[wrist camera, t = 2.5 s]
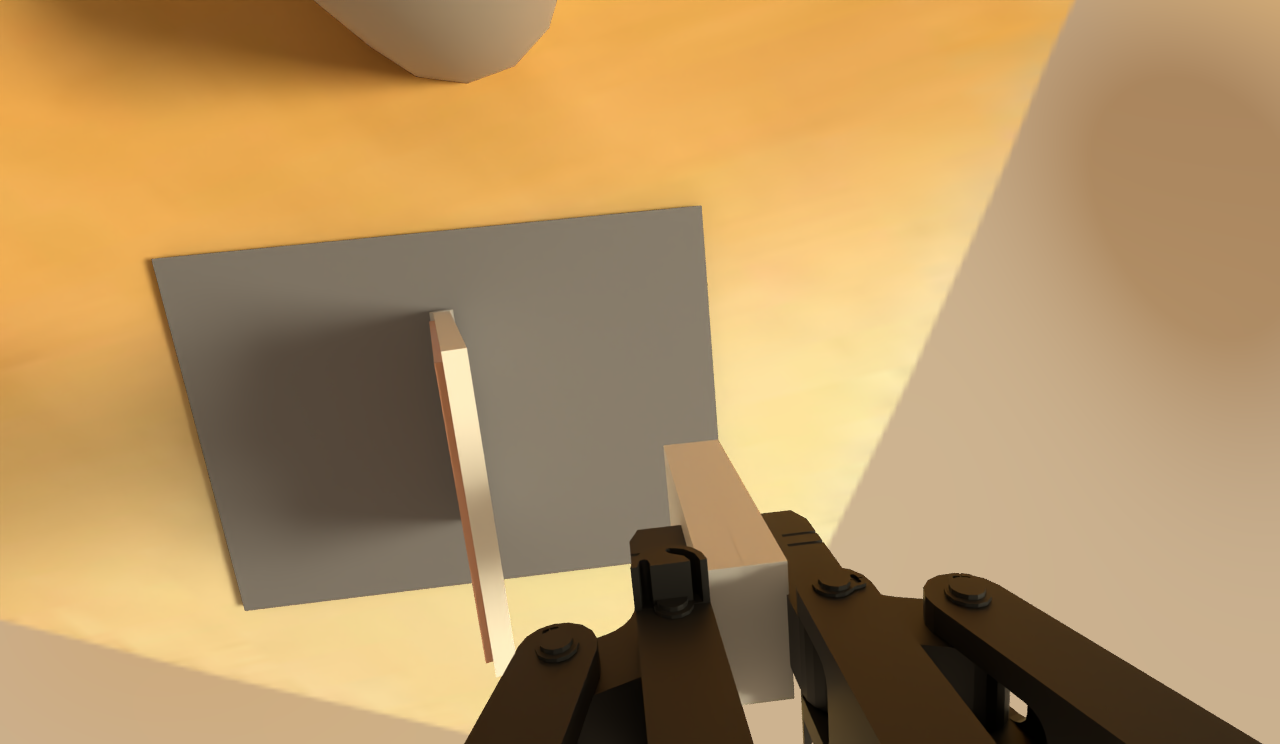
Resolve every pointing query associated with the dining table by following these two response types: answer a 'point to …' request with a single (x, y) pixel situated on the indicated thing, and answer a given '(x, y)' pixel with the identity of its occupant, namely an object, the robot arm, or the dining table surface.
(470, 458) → the tile
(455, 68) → the cup
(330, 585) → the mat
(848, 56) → the dining table surface
